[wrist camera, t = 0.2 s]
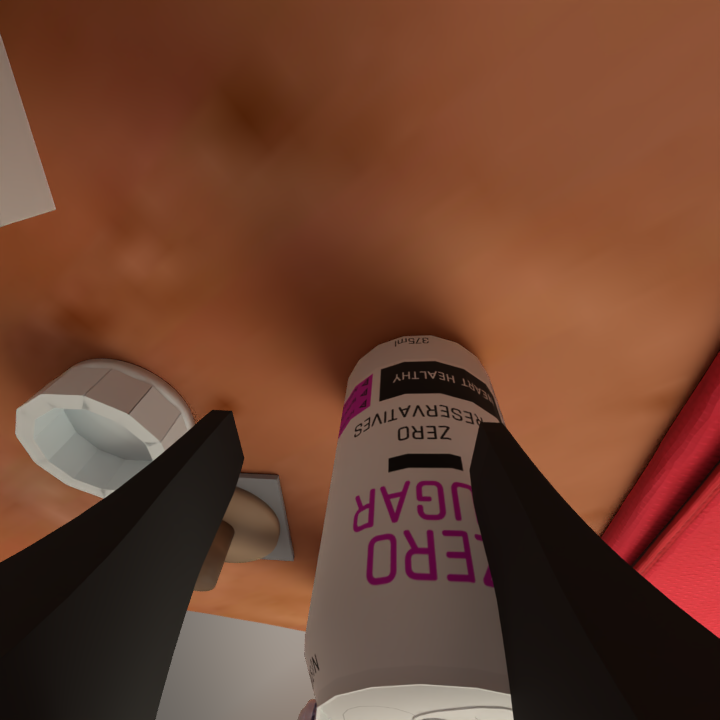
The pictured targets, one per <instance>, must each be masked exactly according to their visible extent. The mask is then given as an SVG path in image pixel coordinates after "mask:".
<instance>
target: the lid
mask: <svg viewBox="0 0 720 720" xmlns="http://www.w3.org/2000/svg"><path fill="white" fill-rule="evenodd" d="M279 535H280V523H279V519H278V517H277V516H276V514H275V513H274V511H273V510H272V509H271V508H270V507H269V506H268V505H267V504H266V503H265V502H264V501H263V500H261V499H260V498H258V497H257V496H255V495H254V494H252V493H250V492H248V491H246V490H244V489H241V488H239V487H236V488H235V491H234V494H233V496H232V499H231V501H230V503H229V506H228V508H227V510H226V513H225V515H224V517H223V519H222V522H221V524H220V526H219V529H218V531H217V533H216V535H215V538H214V540H213V542H212V544H211V547H210V549H209V551H208V554H207V556H206V558H205V560H204V563H203V565H202V568H201V570H200V573H199V576H198V578H197V581H196V584H195V587H194V591H209V590H212V589H213V588H214V587H215V585H216V583H217V580H218V577H219V575H220V572H221V569H222V567H223V564H224V562H228V563H243V562H251V561H255V560H258V559H261V558H263V557H265V556H267V555H268V554H270V553H271V552H272V551H273V550H274V549H275V547H276V545H277V542H278V539H279Z"/></svg>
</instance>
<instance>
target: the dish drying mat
mask: <svg viewBox="0 0 720 720" xmlns="http://www.w3.org/2000/svg"><path fill="white" fill-rule="evenodd" d="M601 539H602V540H603V541H604V542H605V543H606V544H608V545H609V546H610V547H611V548H612V549H613V550H614V551H615V552H616V553H617V554H618V555H619V556H620V557H621V558H622V559H623V560H625V561H626V562H627V563H628V564H629V565H630V566H631V567H632V568H633V569H635V570H636V571H637V572H638V573H639V574H641V575H642V576H643V577H644V578H645V579H646V580H648V581H649V582H650V583H651V584H652V585H654V586H655V587H656V588H657V589H658V590H659V591H661V592H662V593H663V594H664V595H665V596H667V597H668V598H669V599H670V600H671V601H673V602H674V603H675V604H676V605H677V606H679V607H680V608H681V609H682V610H684V611H685V612H686V613H687V614H689V615H690V616H691V617H693V618H694V619H695V620H696V621H698V622H699V623H700V624H702V625H703V626H704V627H706V628H707V629H708V630H709V631H711V632H712V633H713V634H715V635H716V636H717V637H719V638H720V351H719V353H718V354H717V356H716V357H715V359H714V360H713V362H712V364H711V365H710V367H709V368H708V370H707V372H706V373H705V375H704V376H703V378H702V379H701V381H700V382H699V384H698V385H697V387H696V389H695V390H694V392H693V393H692V395H691V396H690V398H689V399H688V401H687V402H686V404H685V406H684V407H683V409H682V410H681V412H680V413H679V415H678V416H677V418H676V419H675V421H674V423H673V424H672V426H671V427H670V429H669V430H668V432H667V434H666V435H665V437H664V438H663V440H662V442H661V444H660V446H659V447H658V449H657V451H656V453H655V454H654V456H653V458H652V459H651V461H650V462H649V464H648V466H647V467H646V469H645V470H644V472H643V473H642V475H641V476H640V478H639V479H638V481H637V483H636V484H635V486H634V487H633V489H632V490H631V492H630V493H629V495H628V496H627V498H626V499H625V501H624V502H623V504H622V505H621V507H620V509H619V510H618V512H617V513H616V515H615V517H614V518H613V520H612V521H611V523H610V524H609V526H608V528H607V529H606V531H605V532H604V534H603V536H602V537H601Z"/></svg>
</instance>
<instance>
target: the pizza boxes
mask: <svg viewBox="0 0 720 720" xmlns="http://www.w3.org/2000/svg"><path fill="white" fill-rule="evenodd" d="M53 210H56V208H55V204H54V201H53V198H52V195H51V192H50V189H49V186H48V182H47V179H46V176H45V173H44V170H43V167H42V163H41V160H40V157H39V154H38V151H37V148H36V145H35V141H34V138H33V135H32V132H31V129H30V126H29V122H28V119H27V116H26V113H25V110H24V107H23V104H22V100H21V97H20V94H19V91H18V88H17V85H16V81H15V78H14V75H13V72H12V69H11V66H10V63H9V59H8V56H7V53H6V50H5V47H4V44H3V40H2V37H1V34H0V227H2V226H5V225H8V224H11V223H15V222H18V221H21V220H24V219H27V218H31V217H34V216H37V215H40V214H44V213H47V212H50V211H53Z"/></svg>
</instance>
